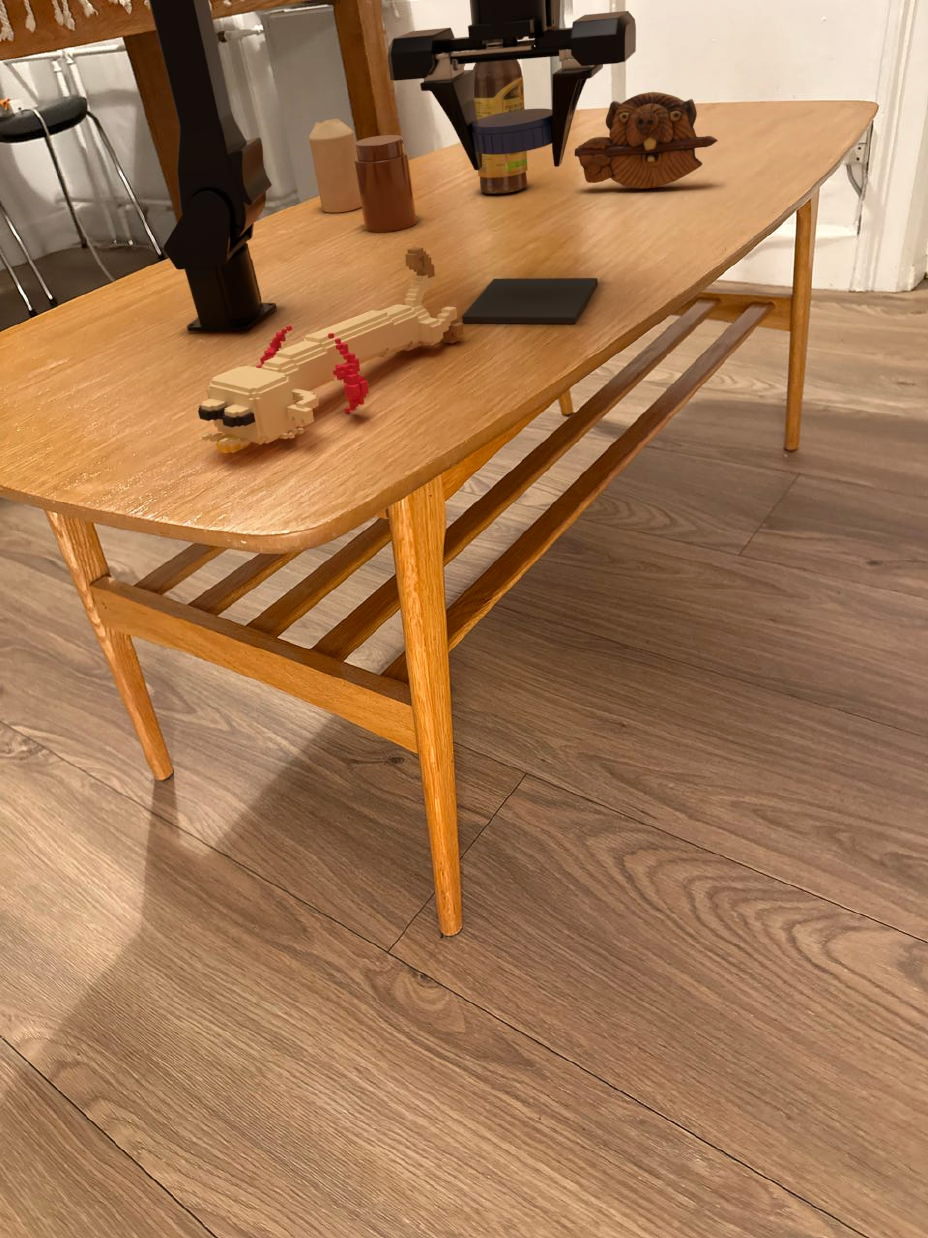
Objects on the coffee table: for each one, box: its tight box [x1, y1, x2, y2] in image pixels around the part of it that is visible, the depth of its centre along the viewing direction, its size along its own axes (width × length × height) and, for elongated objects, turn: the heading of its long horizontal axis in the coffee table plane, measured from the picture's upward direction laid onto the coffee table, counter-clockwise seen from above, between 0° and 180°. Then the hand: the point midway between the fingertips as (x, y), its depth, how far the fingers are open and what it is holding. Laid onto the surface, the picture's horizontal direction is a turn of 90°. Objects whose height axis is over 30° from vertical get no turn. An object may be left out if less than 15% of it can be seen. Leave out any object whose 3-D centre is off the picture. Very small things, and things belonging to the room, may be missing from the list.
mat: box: [461, 277, 599, 325], centre depth 82 cm, size 10×10×1 cm
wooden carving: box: [574, 91, 719, 189], centre depth 107 cm, size 16×5×10 cm, turn 76°
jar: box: [354, 134, 418, 233], centre depth 106 cm, size 6×6×9 cm
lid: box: [472, 108, 552, 155], centre depth 75 cm, size 7×7×2 cm
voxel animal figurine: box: [197, 246, 465, 455], centre depth 68 cm, size 10×9×25 cm
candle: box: [308, 118, 362, 213], centre depth 115 cm, size 6×6×10 cm
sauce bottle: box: [472, 39, 529, 194], centre depth 111 cm, size 6×6×20 cm
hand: (517, 167), depth 76 cm, fingers closed on lid, 6 cm apart
